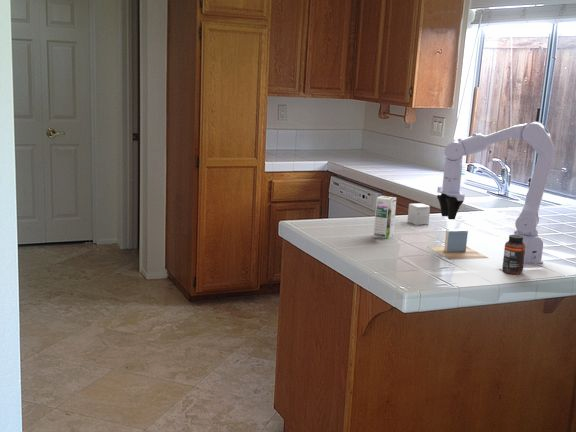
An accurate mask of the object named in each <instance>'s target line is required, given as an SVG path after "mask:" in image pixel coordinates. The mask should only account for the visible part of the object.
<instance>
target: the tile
mask: <svg viewBox="0 0 576 432" xmlns="http://www.w3.org/2000/svg"><path fill="white" fill-rule="evenodd" d="M468 233H469V230H467V229H466V228H465V229H446V230H445V236H444V237H445V239H444V245H443V246H444V251H446V252H456V251H466V246H467V242H468Z"/></svg>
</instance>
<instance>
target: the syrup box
mask: <svg viewBox="0 0 576 432" xmlns="http://www.w3.org/2000/svg"><path fill="white" fill-rule="evenodd" d="M396 206H397V197H394V196H386V195H379V196H377V197H376V200H375V213H374V227H373V228H374V229H373V238H375V239H376V238H384V239H390V238H393V237H394V234H395V233H394V232H395V219H396V209H397V207H396Z"/></svg>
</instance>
